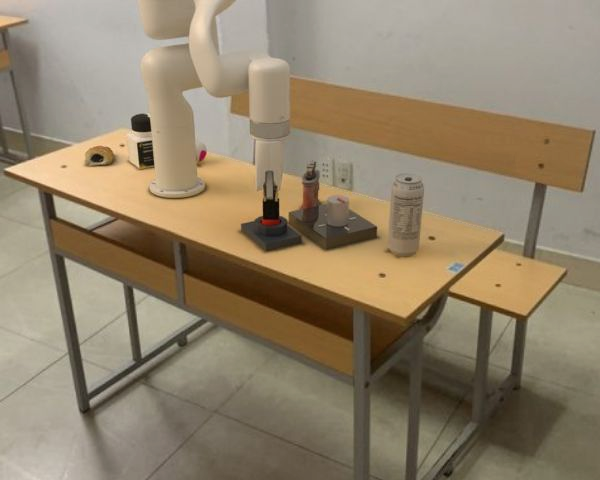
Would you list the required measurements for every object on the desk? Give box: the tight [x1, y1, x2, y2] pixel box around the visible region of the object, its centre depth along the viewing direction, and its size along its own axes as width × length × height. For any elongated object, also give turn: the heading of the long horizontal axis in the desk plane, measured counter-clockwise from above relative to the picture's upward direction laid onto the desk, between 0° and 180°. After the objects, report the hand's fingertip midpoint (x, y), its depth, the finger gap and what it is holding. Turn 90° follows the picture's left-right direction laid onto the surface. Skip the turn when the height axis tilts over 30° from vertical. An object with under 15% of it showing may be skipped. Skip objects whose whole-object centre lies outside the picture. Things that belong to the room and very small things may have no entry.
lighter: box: [301, 160, 321, 209], centre depth 166 cm, size 8×3×10 cm, turn 168°
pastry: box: [84, 145, 115, 167], centre depth 194 cm, size 9×7×4 cm
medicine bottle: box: [126, 113, 155, 170], centre depth 191 cm, size 7×7×12 cm
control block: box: [240, 215, 303, 252], centre depth 155 cm, size 11×8×4 cm
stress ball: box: [195, 139, 208, 167], centre depth 193 cm, size 8×8×7 cm
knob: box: [326, 194, 350, 227], centre depth 155 cm, size 4×4×5 cm
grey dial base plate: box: [288, 203, 378, 251], centre depth 158 cm, size 15×12×3 cm
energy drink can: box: [387, 173, 425, 258], centre depth 147 cm, size 6×6×15 cm
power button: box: [262, 217, 280, 226], centre depth 154 cm, size 4×4×2 cm
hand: (271, 218), depth 154 cm, fingers closed
